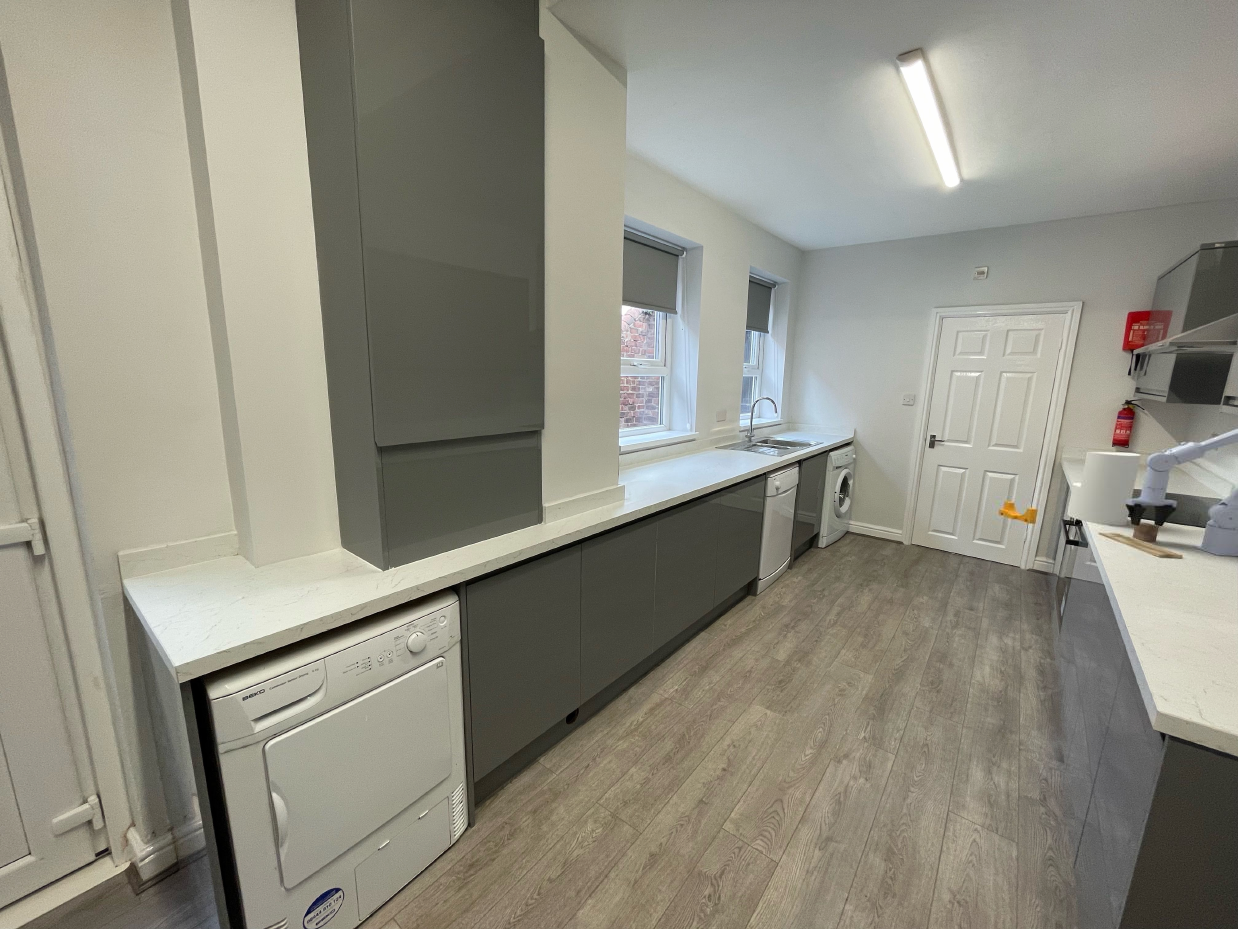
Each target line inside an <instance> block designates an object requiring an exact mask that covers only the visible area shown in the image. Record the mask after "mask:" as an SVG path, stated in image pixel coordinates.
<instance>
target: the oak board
mask: <svg viewBox="0 0 1238 929" xmlns="http://www.w3.org/2000/svg"><path fill="white" fill-rule="evenodd" d="M1098 535H1100V536H1102V537H1105V538H1107V539H1110V540H1113V541H1114V542H1115V541H1116V542H1118V543H1120V544H1123V545H1125V546H1128V547H1130V548H1133V549H1136V550H1139V551H1141V552H1143V553H1146V554H1149V555H1152V556H1154V557H1157V558H1169V559H1171V558H1172V559H1183V556H1184V555H1183V554H1180V553H1178V552H1175V551H1171V550H1169V549H1165V548H1163V547H1160V546H1157V545H1154V544H1152V543H1149V542H1144V541H1141V540H1138V539H1135V538H1133V537H1131V536H1128V535H1125V534H1121V533H1115V532H1114V533H1113V532H1111V533H1109V532H1098Z"/></svg>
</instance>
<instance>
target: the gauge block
mask: <svg viewBox="0 0 1238 929" xmlns="http://www.w3.org/2000/svg"><path fill="white" fill-rule="evenodd" d="M1133 529H1134V530H1133V533H1132V534H1133V535H1132V538H1134V539H1137V540H1140V541H1143V542H1145V543H1156V542H1157V537H1158V532H1159V529H1160V526H1157V525H1154V524H1153V523H1152V524H1151V523H1149V522H1148V523H1147V522H1140V524H1139V526H1136V525H1134V528H1133Z"/></svg>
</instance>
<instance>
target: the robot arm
mask: <svg viewBox="0 0 1238 929" xmlns="http://www.w3.org/2000/svg"><path fill="white" fill-rule="evenodd" d="M1235 443H1238V428H1236V429H1233V430H1231V431H1230V430H1229V431H1228V432H1225V433H1222V434H1220V435H1217V436H1214V437H1212V438H1209V439H1206V440H1204V441H1200V442H1195V441H1190V442H1189V441H1188V442H1186V441H1184V442H1180V445H1178V446H1176V447H1175V446H1174V447H1172V448H1170V449H1166V448H1165V449H1162V450H1161V452H1155V453H1151V455H1149V456H1148V457H1146V459H1145V464H1146V466H1147V467H1146V470H1145V471H1146V472H1145V473H1144V477H1143V483H1142V489H1141V491H1140V496H1139V497H1136V498H1135V497H1134V498H1133V497H1132V499H1127V501H1126V507H1127V509H1128V511H1129V513H1128V515H1129V518H1130V522H1131V525H1133V526H1135V525H1136V526H1139V524H1140V523H1141V521H1142V517H1143V515H1144V513H1145V512H1146V510H1147V507H1143V506H1153V507H1154V512H1155V513H1154V514H1155V515H1154V516H1155V517H1154V524H1153V525H1155V526H1159V527H1164V525H1165V522H1166V521H1167V520H1168V518H1169V517H1170V516H1171V515H1172V514H1173V513H1175V512H1176V511H1177V508H1176V507H1177V503H1178V501H1176V500H1172V499H1165V498H1166V494H1167V490H1168V485H1169V480H1170V471H1171V470H1172V469H1173V468H1174V466H1180V465H1182V464H1185V463H1189V462H1192V461H1195V460H1197V459H1201V458H1203V457H1205V456H1204V455H1205V454H1206V452H1209V451H1212V450H1216V449H1219V448H1221V447H1222V448H1223V447H1225V446H1229V445H1231V444H1235ZM1207 511H1208V512H1207V515H1208V517H1209V518H1210V520H1209V521H1207V522H1206V525H1205V530H1204V534H1203V538H1202V542H1201V545H1192V548H1194V549H1197V550H1200V551H1202V552H1203V551H1204V552H1206V553H1210V554H1213V555H1217V556H1226V557H1227V556H1229V557H1230V556H1232V557H1238V486H1237V487H1236V488H1235V489H1234V490H1233V491H1232V492H1231V494H1230V495H1229V496H1227V497H1225V498H1223V499H1222V500H1221V501H1220V502H1219V503H1217V504H1214V505H1212V506H1211V507H1210V508H1208V510H1207Z"/></svg>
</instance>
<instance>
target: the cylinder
mask: <svg viewBox="0 0 1238 929" xmlns="http://www.w3.org/2000/svg"><path fill="white" fill-rule="evenodd" d="M1141 457H1142V455H1141V454H1140V453H1134V452H1114V451H1113V452H1112V451H1111V452H1109V451H1108V452H1106V451H1104V452H1103V451H1099V452H1098V451H1087V452H1086V456H1085V461H1084V466H1083V473H1082V477H1081V482H1073V483H1072V487H1071V494H1070V498H1069V501H1068V502H1069V503H1068V508H1067V513H1066V515H1067V516H1068V517H1070V518H1073V519H1076V520H1079V521H1083V522H1087V523H1092V524H1098V525H1107V526H1125V525H1127V522H1128V517H1129V511H1128V509H1127V507H1126V501H1127V499H1133V495H1134V494H1133V493H1134V489H1135V485H1136V480H1137V475H1138V470H1139V467H1140V461H1141Z"/></svg>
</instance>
